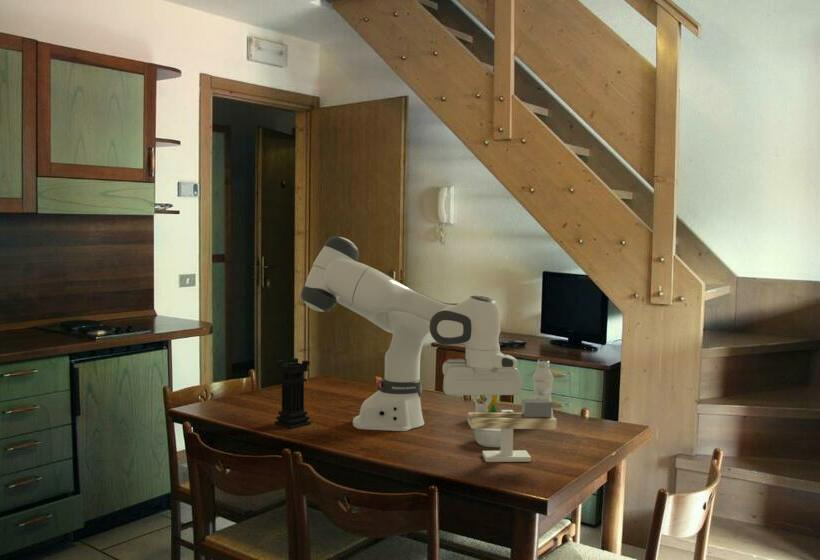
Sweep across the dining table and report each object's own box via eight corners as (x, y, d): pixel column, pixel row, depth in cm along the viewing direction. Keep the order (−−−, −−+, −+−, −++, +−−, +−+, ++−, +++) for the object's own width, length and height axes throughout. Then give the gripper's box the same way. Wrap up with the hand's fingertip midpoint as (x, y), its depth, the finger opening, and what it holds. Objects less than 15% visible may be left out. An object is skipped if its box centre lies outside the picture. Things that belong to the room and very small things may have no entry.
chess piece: (274, 424, 234) (274, 360, 232) (294, 419, 240) (295, 357, 238) (290, 429, 228) (290, 364, 227) (311, 424, 234) (311, 361, 233)
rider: (524, 421, 194) (525, 402, 194) (521, 417, 198) (521, 399, 198) (551, 421, 194) (551, 402, 194) (547, 417, 198) (547, 399, 198)
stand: (486, 461, 199) (487, 413, 198) (482, 455, 205) (483, 408, 204) (530, 461, 200) (532, 413, 199) (525, 454, 206) (526, 407, 205)
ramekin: (520, 445, 215) (520, 427, 214) (489, 451, 209) (490, 432, 208) (495, 435, 224) (495, 418, 224) (465, 441, 218) (465, 423, 218)
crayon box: (478, 418, 244) (479, 383, 244) (487, 417, 245) (487, 382, 245) (488, 423, 238) (489, 387, 237) (497, 423, 239) (497, 387, 238)
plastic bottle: (552, 425, 236) (554, 362, 235) (531, 424, 237) (532, 361, 236) (553, 420, 242) (554, 359, 241) (531, 419, 244) (533, 358, 242)
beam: (471, 428, 192) (472, 418, 191) (467, 421, 199) (467, 411, 199) (556, 428, 193) (556, 418, 193) (548, 421, 201) (549, 411, 200)
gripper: (444, 361, 190) (443, 414, 191) (523, 361, 192) (522, 414, 193) (441, 356, 196) (440, 408, 197) (518, 356, 198) (517, 408, 199)
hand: (481, 411), depth 195 cm, fingers closed
